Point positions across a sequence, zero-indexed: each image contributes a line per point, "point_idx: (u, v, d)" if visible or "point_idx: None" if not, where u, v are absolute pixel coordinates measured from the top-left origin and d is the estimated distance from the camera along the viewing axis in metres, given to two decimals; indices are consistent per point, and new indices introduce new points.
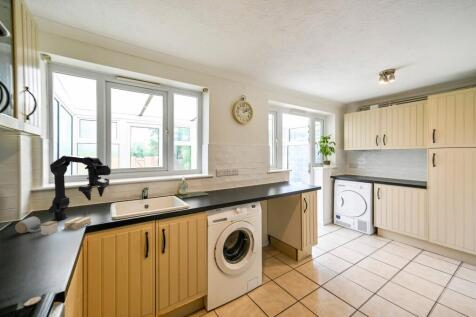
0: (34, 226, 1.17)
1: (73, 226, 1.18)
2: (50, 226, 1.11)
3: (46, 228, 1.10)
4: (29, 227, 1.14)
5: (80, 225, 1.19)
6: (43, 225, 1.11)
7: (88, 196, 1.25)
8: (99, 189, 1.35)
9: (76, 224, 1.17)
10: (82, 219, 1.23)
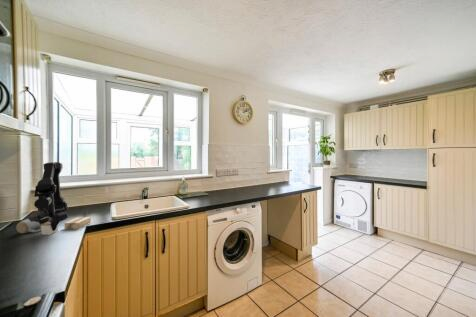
0: (35, 226, 1.16)
1: (73, 226, 1.18)
2: (50, 226, 1.11)
3: (46, 228, 1.10)
4: (30, 227, 1.14)
5: (80, 225, 1.19)
6: (43, 224, 1.11)
7: None
8: None
9: (76, 224, 1.18)
10: (82, 219, 1.23)
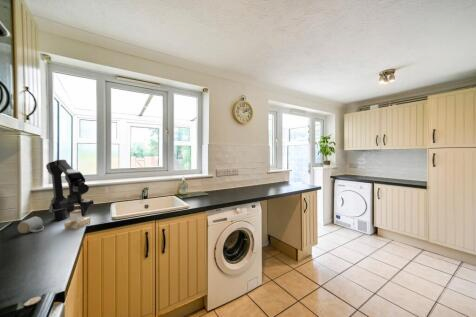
0: (36, 226, 1.16)
1: (73, 226, 1.18)
2: (78, 214, 1.20)
3: (74, 215, 1.19)
4: (31, 227, 1.14)
5: (81, 225, 1.19)
6: (71, 212, 1.19)
7: None
8: None
9: (77, 224, 1.18)
10: None
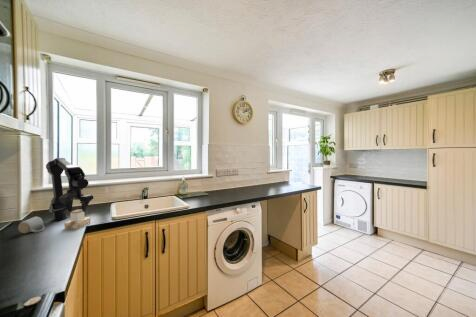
0: (37, 226, 1.16)
1: (73, 226, 1.18)
2: (78, 214, 1.20)
3: (75, 215, 1.20)
4: (32, 227, 1.14)
5: (81, 225, 1.19)
6: (72, 212, 1.20)
7: None
8: None
9: (77, 224, 1.18)
10: None
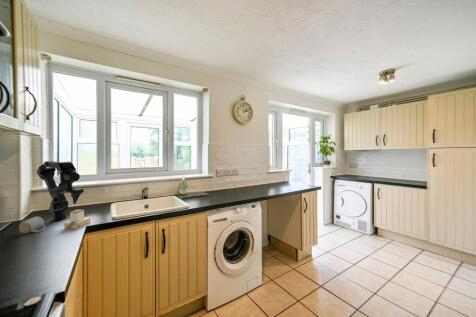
0: (38, 226, 1.16)
1: (73, 226, 1.18)
2: (78, 214, 1.20)
3: (74, 215, 1.19)
4: (33, 227, 1.14)
5: (81, 225, 1.19)
6: (71, 212, 1.20)
7: None
8: None
9: (77, 224, 1.18)
10: None
